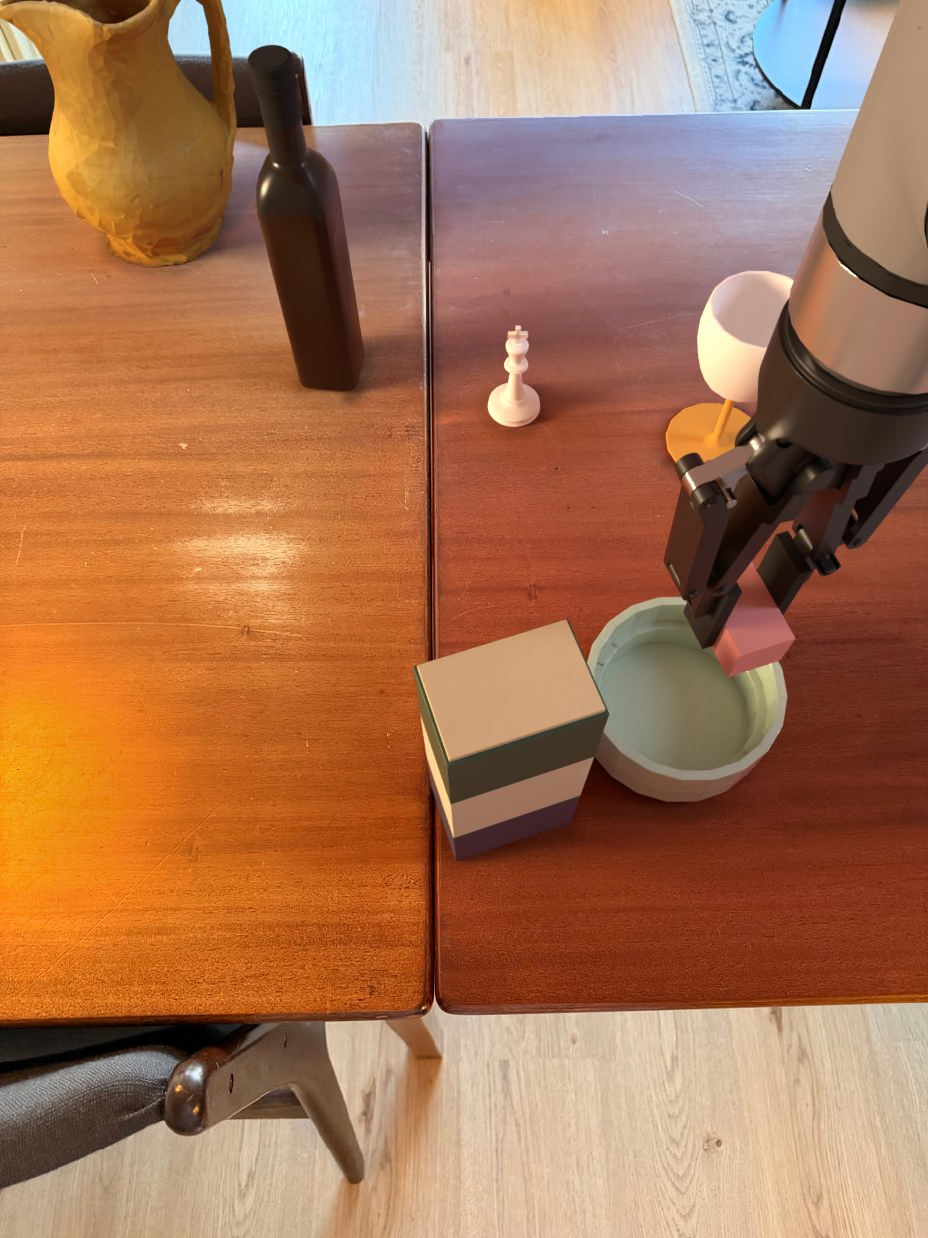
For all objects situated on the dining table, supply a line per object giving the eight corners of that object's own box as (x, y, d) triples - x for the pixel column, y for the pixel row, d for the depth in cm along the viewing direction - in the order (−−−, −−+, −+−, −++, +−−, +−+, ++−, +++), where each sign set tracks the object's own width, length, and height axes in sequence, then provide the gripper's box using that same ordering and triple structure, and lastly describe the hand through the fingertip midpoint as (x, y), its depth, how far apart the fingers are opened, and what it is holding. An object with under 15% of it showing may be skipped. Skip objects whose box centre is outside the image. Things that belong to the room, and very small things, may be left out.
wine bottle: (297, 389, 86) (217, 79, 60) (310, 345, 89) (239, 28, 62) (356, 395, 86) (301, 85, 59) (367, 350, 88) (319, 34, 62)
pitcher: (99, 168, 101) (6, -86, 78) (266, 179, 101) (222, -71, 79) (64, 282, 93) (-51, 38, 71) (244, 293, 94) (188, 54, 71)
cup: (762, 489, 80) (824, 361, 66) (660, 473, 81) (699, 343, 67) (767, 411, 84) (826, 274, 70) (670, 397, 85) (709, 259, 71)
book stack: (570, 822, 67) (610, 714, 47) (455, 861, 66) (446, 767, 46) (542, 749, 70) (567, 618, 50) (430, 785, 68) (412, 665, 49)
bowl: (796, 769, 69) (823, 742, 63) (621, 829, 67) (633, 807, 61) (713, 610, 75) (731, 574, 70) (550, 661, 73) (556, 628, 68)
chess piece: (541, 426, 84) (548, 348, 75) (488, 427, 84) (489, 349, 75) (538, 385, 86) (546, 305, 77) (487, 386, 86) (488, 306, 77)
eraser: (780, 661, 54) (796, 638, 51) (727, 678, 53) (740, 656, 51) (728, 565, 57) (740, 539, 54) (677, 580, 56) (687, 555, 54)
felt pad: (604, 712, 47) (605, 709, 47) (449, 762, 46) (449, 760, 46) (565, 622, 50) (566, 618, 50) (417, 668, 49) (417, 665, 48)
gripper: (1014, 214, 37) (820, 532, 58) (641, 311, 34) (579, 606, 55) (1134, 343, 33) (882, 631, 54) (729, 460, 31) (628, 714, 52)
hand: (729, 618), depth 55 cm, fingers closed on eraser, 3 cm apart
